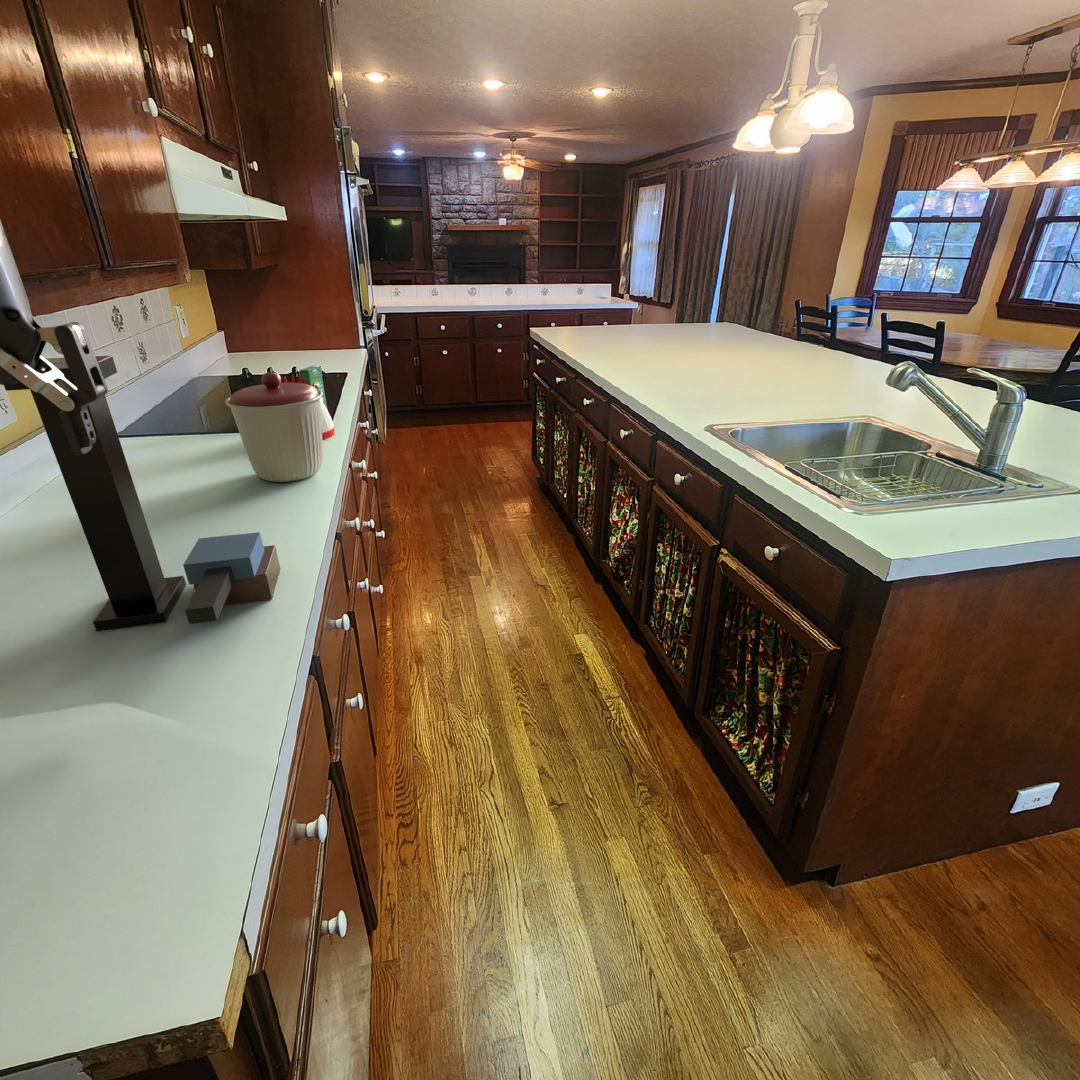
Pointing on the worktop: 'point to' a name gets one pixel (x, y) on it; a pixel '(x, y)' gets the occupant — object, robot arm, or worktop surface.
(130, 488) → the stand
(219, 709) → the worktop surface
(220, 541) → the back pad
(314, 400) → the canister
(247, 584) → the brown wooden block
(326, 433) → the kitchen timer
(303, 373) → the coffee box
